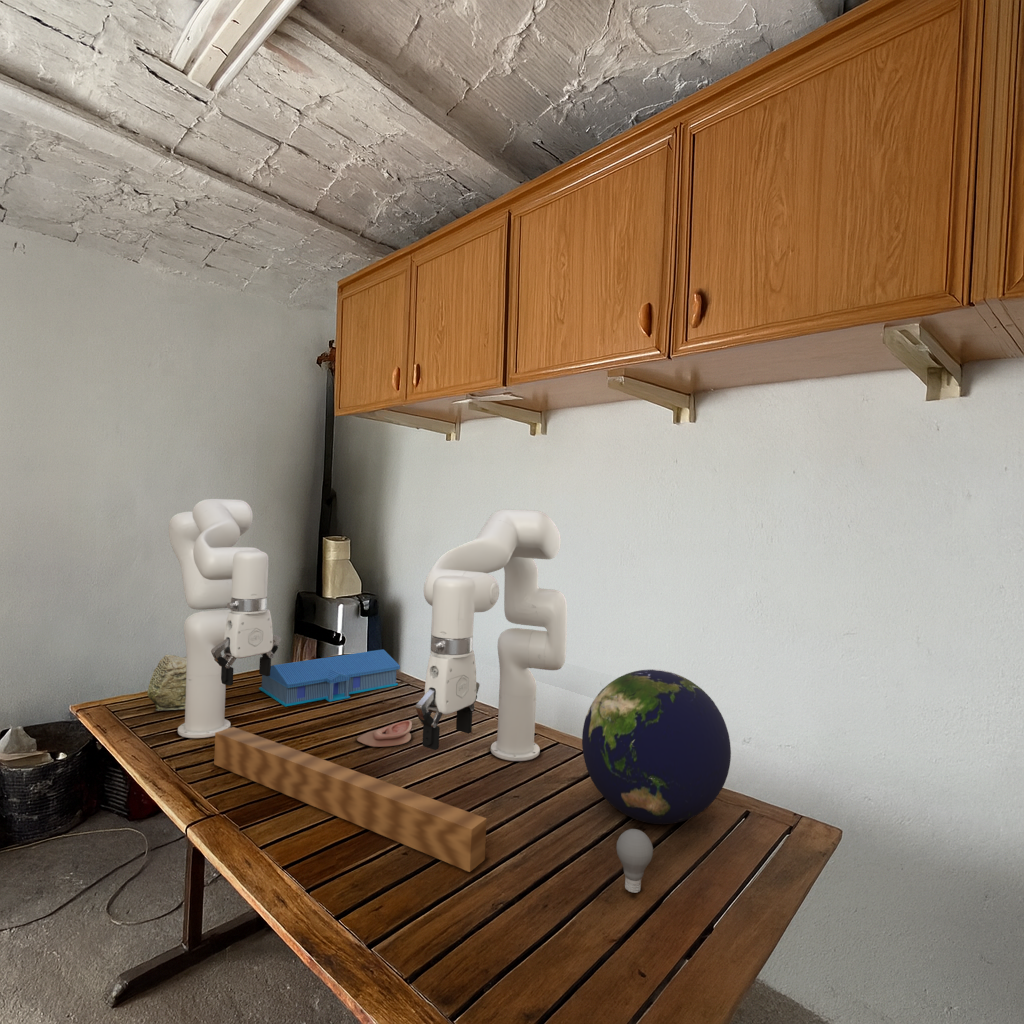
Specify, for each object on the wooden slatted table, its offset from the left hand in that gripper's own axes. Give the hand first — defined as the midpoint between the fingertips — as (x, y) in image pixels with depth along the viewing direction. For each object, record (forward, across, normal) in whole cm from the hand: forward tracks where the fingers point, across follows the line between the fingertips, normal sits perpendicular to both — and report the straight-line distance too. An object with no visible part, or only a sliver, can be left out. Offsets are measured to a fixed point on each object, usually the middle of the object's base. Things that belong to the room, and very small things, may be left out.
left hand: (246, 679), depth 145 cm
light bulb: (+21, +10, -90) cm, 93 cm away
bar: (+21, 0, -29) cm, 35 cm away
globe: (+21, +36, -84) cm, 94 cm away
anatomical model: (+21, +33, -13) cm, 41 cm away
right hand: (0, 0, -58) cm, 58 cm away
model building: (+21, +55, +31) cm, 66 cm away
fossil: (+21, +16, +50) cm, 57 cm away
